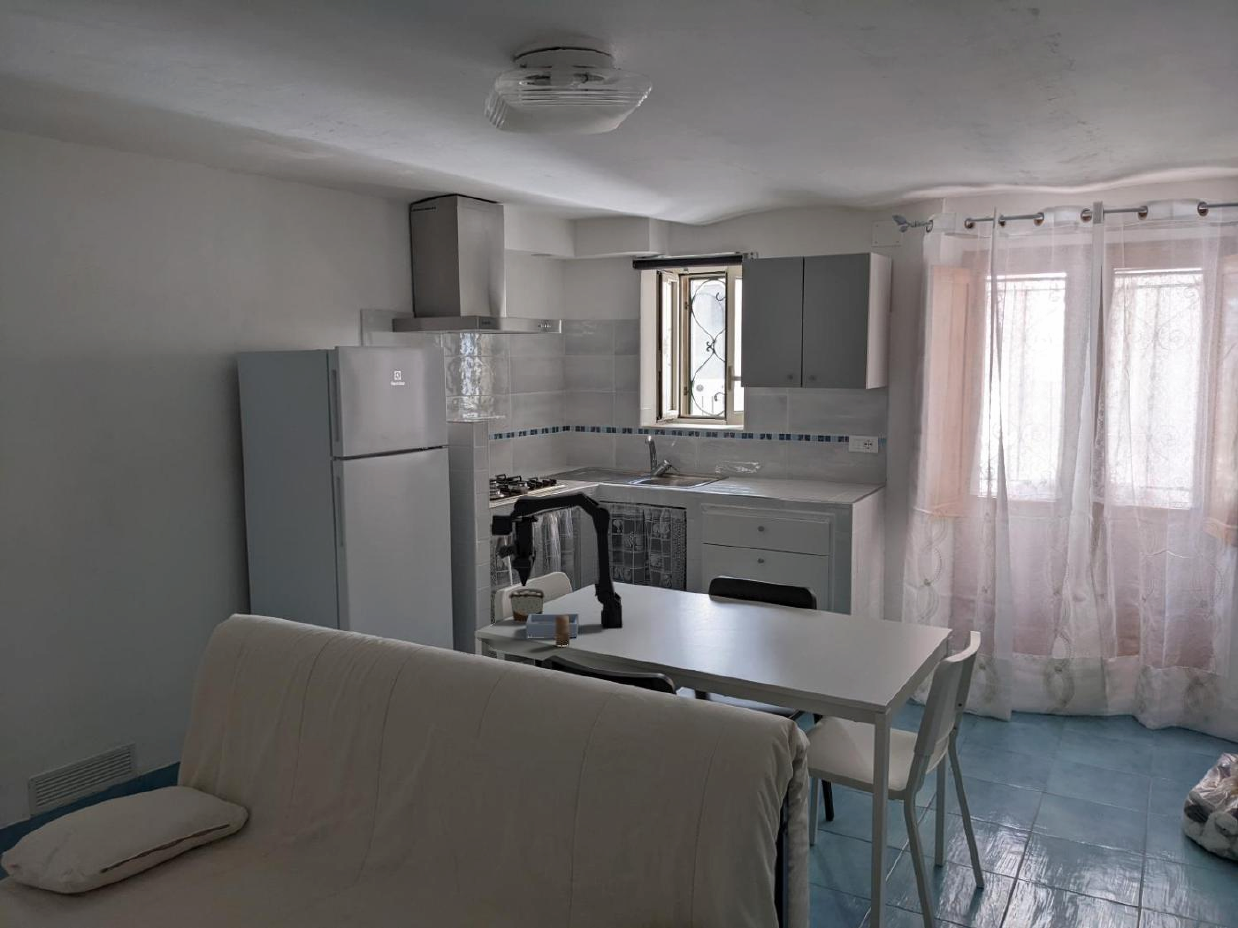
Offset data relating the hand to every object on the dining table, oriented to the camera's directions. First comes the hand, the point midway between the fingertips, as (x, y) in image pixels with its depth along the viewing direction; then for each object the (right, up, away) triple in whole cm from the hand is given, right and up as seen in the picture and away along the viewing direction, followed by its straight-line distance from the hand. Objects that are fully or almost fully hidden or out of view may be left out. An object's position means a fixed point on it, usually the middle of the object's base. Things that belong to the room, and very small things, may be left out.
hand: (525, 582), depth 310 cm
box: (+9, -15, -5) cm, 19 cm away
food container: (0, -14, +9) cm, 17 cm away
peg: (+13, -17, -18) cm, 28 cm away
